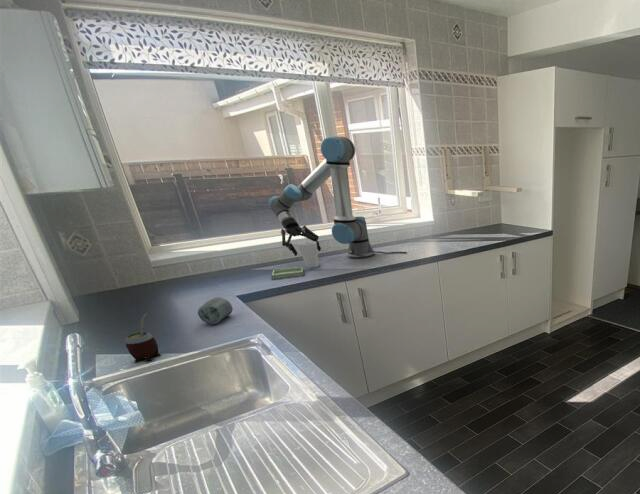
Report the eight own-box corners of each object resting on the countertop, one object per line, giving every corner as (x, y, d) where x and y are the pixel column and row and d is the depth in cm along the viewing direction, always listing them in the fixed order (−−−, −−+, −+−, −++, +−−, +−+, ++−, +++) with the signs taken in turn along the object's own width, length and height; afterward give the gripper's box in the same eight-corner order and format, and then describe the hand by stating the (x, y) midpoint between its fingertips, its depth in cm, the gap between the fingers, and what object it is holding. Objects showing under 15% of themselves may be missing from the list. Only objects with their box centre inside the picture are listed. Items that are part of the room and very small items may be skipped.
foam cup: (303, 265, 237) (297, 242, 232) (321, 263, 241) (315, 240, 235) (303, 269, 230) (297, 245, 224) (321, 267, 233) (316, 243, 227)
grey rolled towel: (221, 318, 153) (204, 294, 152) (200, 330, 154) (184, 307, 153) (245, 314, 167) (230, 291, 165) (226, 325, 168) (211, 303, 166)
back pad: (303, 270, 228) (302, 266, 227) (303, 275, 218) (302, 271, 217) (274, 274, 222) (272, 270, 221) (272, 279, 213) (271, 275, 212)
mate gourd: (131, 359, 132) (110, 314, 125) (162, 350, 137) (143, 307, 131) (136, 366, 127) (115, 320, 121) (168, 356, 133) (148, 312, 126)
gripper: (308, 223, 246) (327, 251, 244) (264, 229, 228) (284, 260, 226) (311, 214, 240) (330, 243, 238) (266, 220, 223) (287, 251, 221)
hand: (308, 252), depth 232 cm, fingers open, 13 cm apart
